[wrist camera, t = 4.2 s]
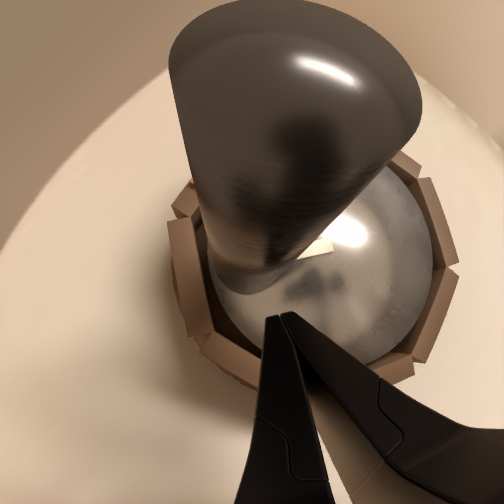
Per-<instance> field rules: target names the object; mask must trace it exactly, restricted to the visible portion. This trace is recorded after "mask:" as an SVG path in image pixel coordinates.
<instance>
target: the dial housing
mask: <svg viewBox="0 0 504 504" xmlns="http://www.w3.org/2000/svg"><path fill="white" fill-rule="evenodd" d="M386 166H387V167H388V168H390V169H391V170H392V171H393V172H394V173H395V174H396V175H397V176H398V177H399V178H400V179H401V181H402V182H403V183H404V184H405V185H406V186H407V188H408V189H409V191H410V192H411V194H412V195H413V197H414V198H415V200H416V202H417V204H418V205H419V207H420V209H421V211H422V214H423V216H424V219H425V221H426V224H427V227H428V231H429V235H430V240H431V246H432V257H433V268H432V280H431V285H430V290H429V294H428V297H427V300H426V303H425V306H424V308H423V310H422V312H421V314H420V316H419V318H418V320H417V321H416V323H415V324H414V326H413V327H412V329H411V330H410V331H409V333H408V334H407V335H406V336H405V337H404V338H403V339H402V341H401V342H399V343H398V344H397V345H396V346H395V347H394V348H393V349H391V350H390V351H389V352H387V353H386V354H384V355H383V356H381V357H379V358H378V359H376V360H374V361H371V362H369V363H367V364H365V365H366V366H367V367H369V368H370V369H371V370H373V371H374V372H375V373H377V374H378V375H379V376H380V378H381V377H382V378H384V379H385V380H386V381H388V382H389V383H390V384H392V385H393V384H396V383H398V382H400V381H402V380H404V379H407V378H409V377H411V376H413V375H415V372H414V366H413V362H417V363H424V364H425V363H426V361H427V359H428V357H429V354H430V352H431V350H432V348H433V345H434V343H435V341H436V338H437V336H438V334H439V331H440V329H441V326H442V324H443V321H444V319H445V316H446V313H447V311H448V308H449V305H450V302H451V300H452V297H453V294H454V291H455V288H456V285H457V282H458V279H459V276H458V275H457V274H456V273H454V272H453V271H452V270H451V269H449V268H448V266H451V265H453V264H456V263H459V260H458V256H457V253H456V249H455V246H454V242H453V239H452V236H451V233H450V230H449V227H448V224H447V221H446V218H445V215H444V212H443V209H442V206H441V204H440V201H439V198H438V196H437V193H436V191H435V188H434V186H433V183H432V181H431V178H430V177H427V178H419V179H418V176H419V173H420V170H421V167H422V166H421V165H419V164H418V163H417V162H415V161H414V160H413V159H411V158H410V157H409V156H407V155H406V154H405V153H403V152H402V151H399V152H398V153H397V154H396V155H395V157H394V158H393V159H392V160H391V161H390V162H389V163H388V164H387V165H386ZM171 206H172V208H173V210H174V213H175V215H176V217H177V220H172V221H168V222H167V226H168V233H169V239H170V245H171V251H172V275H173V283H174V289H175V293H176V297H177V301H178V304H179V307H180V310H181V312H182V315H183V317H184V320H185V324H186V329H187V333H188V337H190V336H194V338H195V339H196V341H197V343H198V344H199V345H200V346H201V348H202V349H201V351H200V352H199V353H201V354H202V355H204V356H206V357H207V358H209V359H210V360H212V361H213V362H215V363H216V364H217V365H218V366H219V367H220V368H221V369H222V370H223V371H225V372H226V373H227V374H229V375H230V376H231V377H233V378H234V379H236V380H237V381H239V382H240V383H242V384H244V385H246V386H248V387H250V388H252V389H254V390H256V391H258V382H259V373H260V364H261V355H262V350H261V349H260V348H258V347H257V346H256V345H254V344H253V343H252V342H251V341H250V340H249V339H248V338H247V337H246V336H244V335H243V334H242V333H241V332H240V331H239V329H238V328H237V327H236V326H235V324H234V323H233V322H232V321H231V319H230V318H229V316H228V315H227V313H226V311H225V310H224V308H223V306H222V304H221V302H220V300H219V297H218V295H217V293H216V291H215V288H214V285H213V281H212V278H211V274H210V270H209V262H208V255H207V234H206V231H205V227H204V223H203V219H202V215H201V211H200V207H199V203H198V199H197V195H196V191H195V187H194V183H193V178H192V179H191V180H190V181H189V182H188V184H187V185H186V186H185V188H184V189H183V190H182V192H181V193H180V194H179V196H178V197H177V198H176V199H175V201H174V202H173V203H172V205H171Z"/></svg>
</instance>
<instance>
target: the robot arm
mask: <svg viewBox="0 0 504 504" xmlns="http://www.w3.org/2000/svg"><path fill="white" fill-rule="evenodd" d="M316 428H317V429H316ZM317 430H318V432H319V434H320V436H321V438H322V441H323V443H324V445H325V447H326V449H327V451H328V453H329V455H330V457H331V460H332V462H333V464H334V466H335V468H336V470H337V472H338V474H339V476H340V478H341V480H342V482H343V484H344V487H345V489H346V491H347V493H348V495H349V497H350V499H351V501H352V503H353V504H504V429H486V428H473V427H468V426H465V425H462V424H459V423H457V422H455V421H453V420H451V419H449V418H447V417H445V416H443V415H442V414H440V413H438V412H436V411H434V410H432V409H431V408H429V407H427V406H425V405H423V404H421V403H420V402H418V401H416V400H415V399H413V398H411V397H410V396H408V395H406V394H405V393H403V392H402V391H400V390H399V389H397V388H396V387H395V386H393V385H392V384H390V383H389V382H388V381H386V380H385V379H384V378H382V377H381V378H380V376H379V375H378V374H377V373H375V372H374V371H373V370H371V369H370V368H369V367H367V366H366V365H365V364H363V363H362V362H361V361H359V360H358V359H357V358H355V357H354V356H353V355H351V354H350V353H349V352H347V351H346V350H345V349H343V348H342V347H341V346H339V345H338V344H337V343H335V342H334V341H333V340H331V339H330V338H329V337H328V336H326V335H325V334H324V333H322V332H321V331H320V330H318V329H317V328H316V327H314V326H313V325H312V324H311V323H309V322H308V321H307V320H305V319H304V318H303V317H301V316H300V315H299V314H298V313H296V312H295V311H289V312H285V313H281V314H280V315H278V314H277V315H273V316H269V317H266V318H265V326H264V336H263V345H262V355H261V364H260V373H259V382H258V391H257V400H256V409H255V418H254V425H253V432H252V439H251V445H250V450H249V454H248V458H247V462H246V465H245V469H244V472H243V475H242V479H241V482H240V485H239V489H238V492H237V495H236V498H235V501H234V504H336V503H335V500H334V497H333V494H332V491H331V487H330V483H329V482H328V481H329V478H328V474H327V470H326V466H325V462H324V458H323V454H322V450H321V446H320V441H319V437H318V433H317Z"/></svg>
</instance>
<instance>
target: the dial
mask: <svg viewBox="0 0 504 504" xmlns="http://www.w3.org/2000/svg"><path fill="white" fill-rule="evenodd" d="M169 74H170V79H171V84H172V89H173V94H174V99H175V103H176V108H177V113H178V117H179V122H180V126H181V131H182V135H183V140H184V144H185V149H186V153H187V157H188V162H189V166H190V170H191V174H192V178H193V183H194V187H195V191H196V195H197V199H198V203H199V207H200V211H201V215H202V219H203V223H204V227H205V231H206V234H207V255H208V262H209V270H210V274H211V278H212V281H213V285H214V288H215V291H216V293H217V295H218V297H219V300H220V302H221V304H222V306H223V308H224V310H225V311H226V313H227V315H228V316H229V318H230V319H231V321H232V322H233V323H234V324H235V326H236V327H237V328H238V329H239V331H240V332H241V333H242V334H243V335H244V336H246V337H247V338H248V339H249V340H250V341H251V342H252V343H253V344H254V345H256V346H257V347H258V348H260V349H261V350H262V345H263V336H264V326H265V318H266V317H269V316H273V315H277V314H278V315H280V314H281V313H285V312H289V311H295V312H296V313H298V314H299V315H300V316H301V317H303V318H304V319H305V320H307V321H308V322H309V323H311V324H312V325H313V326H314V327H316V328H317V329H318V330H320V331H321V332H322V333H324V334H325V335H326V336H328V337H329V338H330V339H331V340H333V341H334V342H335V343H337V344H338V345H339V346H341V347H342V348H343V349H345V350H346V351H347V352H349V353H350V354H351V355H353V356H354V357H355V358H357V359H358V360H359V361H361V362H362V363H363V364H367V363H369V362H371V361H374V360H376V359H378V358H379V357H381V356H383V355H384V354H386V353H387V352H389V351H390V350H391V349H393V348H394V347H395V346H396V345H397V344H398V343H399V342H401V341H402V339H403V338H404V337H405V336H406V335H407V334H408V333H409V331H410V330H411V329H412V327H413V326H414V324H415V323H416V321H417V320H418V318H419V316H420V314H421V312H422V310H423V308H424V306H425V303H426V300H427V297H428V294H429V290H430V285H431V280H432V268H433V257H432V246H431V240H430V235H429V231H428V227H427V224H426V221H425V219H424V216H423V214H422V211H421V209H420V207H419V205H418V204H417V202H416V200H415V198H414V197H413V195H412V194H411V192H410V191H409V189H408V188H407V186H406V185H405V184H404V183H403V182H402V181H401V179H400V178H399V177H398V176H397V175H396V174H395V173H394V172H393V171H392V170H391V169H390V168H388V167H387V166H386V165H387V164H388V163H389V162H390V161H391V160H392V159H393V158H394V157H395V155H396V154H397V153H398V152H399V151H400V150H401V149H402V148H403V147H404V145H405V144H406V143H407V142H408V141H409V140H410V139H411V137H412V136H413V135H414V133H415V132H416V130H417V128H418V126H419V123H420V120H421V115H422V97H421V92H420V88H419V85H418V82H417V80H416V78H415V76H414V74H413V72H412V70H411V68H410V67H409V65H408V64H407V62H406V61H405V60H404V58H403V57H402V56H401V54H400V53H399V52H398V51H397V50H396V49H395V48H394V47H393V46H392V45H391V44H390V43H389V42H388V41H387V40H386V39H385V38H384V37H382V36H381V35H380V34H379V33H377V32H376V31H375V30H373V29H372V28H370V27H369V26H367V25H366V24H364V23H362V22H361V21H359V20H357V19H355V18H353V17H351V16H350V15H348V14H345V13H343V12H341V11H338V10H336V9H333V8H330V7H327V6H324V5H320V4H317V3H313V2H309V1H304V0H239V1H234V2H231V3H227V4H224V5H221V6H218V7H216V8H213V9H211V10H209V11H207V12H205V13H203V14H202V15H200V16H198V17H197V18H195V19H194V20H193V21H191V22H190V23H189V24H188V25H187V26H186V27H185V28H184V29H183V30H182V31H181V32H180V34H179V35H178V36H177V38H176V39H175V41H174V43H173V45H172V48H171V51H170V55H169Z"/></svg>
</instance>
